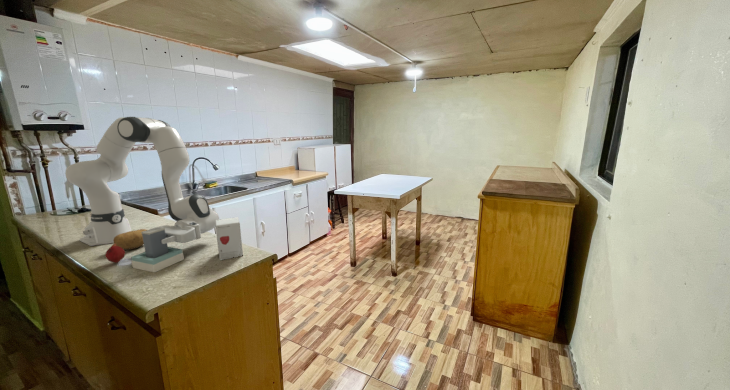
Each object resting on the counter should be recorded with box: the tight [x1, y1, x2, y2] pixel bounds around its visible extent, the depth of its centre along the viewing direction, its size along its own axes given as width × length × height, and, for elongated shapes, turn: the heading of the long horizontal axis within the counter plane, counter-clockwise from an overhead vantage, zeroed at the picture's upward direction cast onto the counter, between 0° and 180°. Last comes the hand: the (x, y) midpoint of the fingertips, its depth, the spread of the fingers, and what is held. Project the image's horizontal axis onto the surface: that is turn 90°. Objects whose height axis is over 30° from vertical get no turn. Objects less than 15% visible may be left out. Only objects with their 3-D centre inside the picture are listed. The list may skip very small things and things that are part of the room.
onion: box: [105, 243, 126, 264], centre depth 115 cm, size 6×6×8 cm
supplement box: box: [215, 216, 244, 261], centre depth 121 cm, size 9×9×15 cm
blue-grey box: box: [141, 226, 169, 259], centre depth 113 cm, size 4×6×11 cm
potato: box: [113, 228, 147, 250], centre depth 131 cm, size 10×14×8 cm
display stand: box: [131, 246, 185, 273], centre depth 115 cm, size 12×12×4 cm
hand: (152, 240), depth 112 cm, fingers open, 8 cm apart
